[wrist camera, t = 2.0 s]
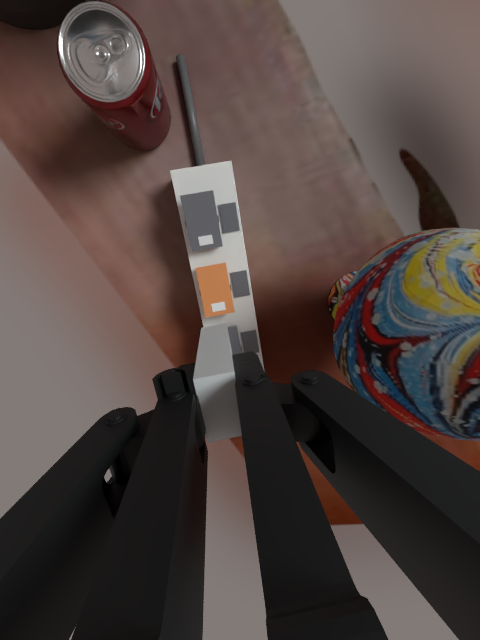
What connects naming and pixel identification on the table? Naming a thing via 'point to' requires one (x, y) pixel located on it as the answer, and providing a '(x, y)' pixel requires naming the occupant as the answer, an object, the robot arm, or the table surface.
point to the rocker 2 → (234, 340)
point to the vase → (415, 331)
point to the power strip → (230, 229)
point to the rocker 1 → (201, 220)
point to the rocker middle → (215, 290)
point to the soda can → (114, 72)
